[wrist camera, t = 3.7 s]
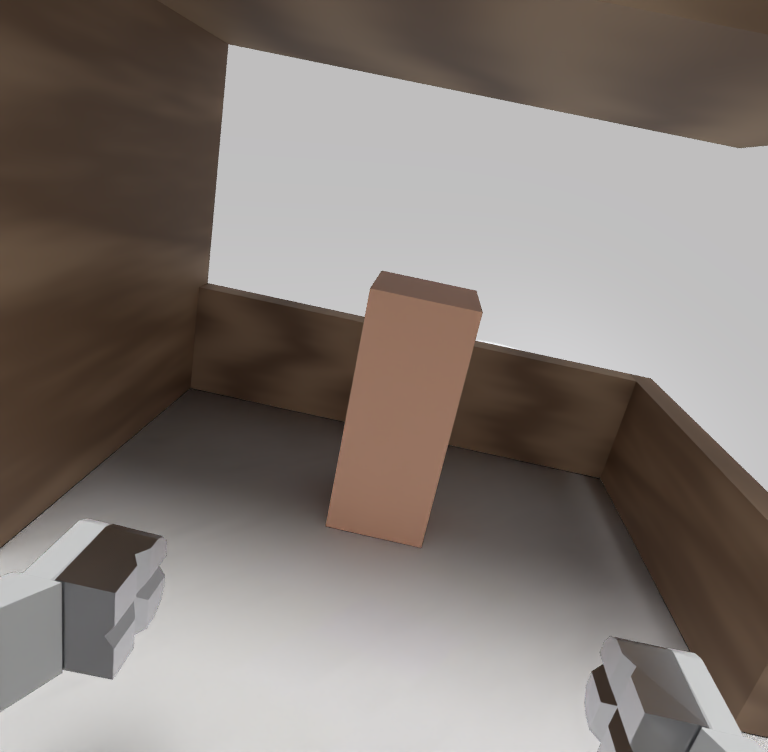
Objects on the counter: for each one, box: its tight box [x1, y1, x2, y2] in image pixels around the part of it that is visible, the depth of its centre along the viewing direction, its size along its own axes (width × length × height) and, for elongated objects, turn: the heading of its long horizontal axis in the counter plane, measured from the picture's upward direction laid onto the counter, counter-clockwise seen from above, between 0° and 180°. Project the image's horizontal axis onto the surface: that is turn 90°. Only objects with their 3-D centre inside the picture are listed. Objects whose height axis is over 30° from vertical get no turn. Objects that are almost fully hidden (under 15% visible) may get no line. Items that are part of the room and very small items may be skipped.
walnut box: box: [0, 0, 768, 737], centre depth 23 cm, size 26×17×19 cm, turn 84°
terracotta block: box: [326, 271, 483, 548], centre depth 23 cm, size 4×4×10 cm
